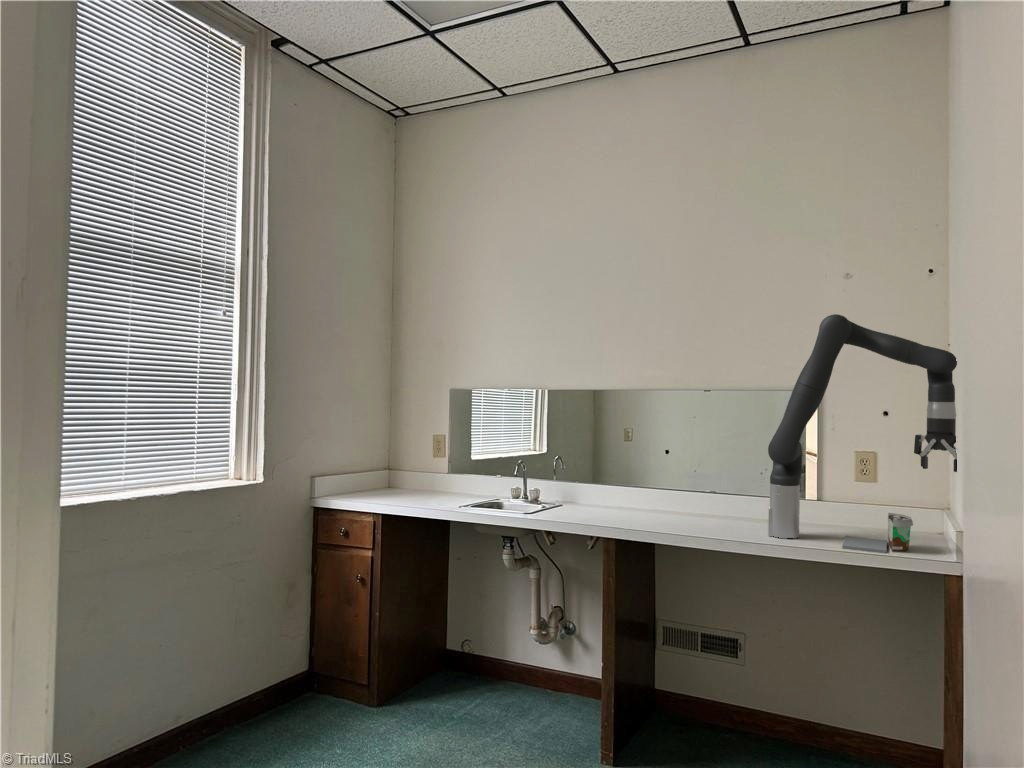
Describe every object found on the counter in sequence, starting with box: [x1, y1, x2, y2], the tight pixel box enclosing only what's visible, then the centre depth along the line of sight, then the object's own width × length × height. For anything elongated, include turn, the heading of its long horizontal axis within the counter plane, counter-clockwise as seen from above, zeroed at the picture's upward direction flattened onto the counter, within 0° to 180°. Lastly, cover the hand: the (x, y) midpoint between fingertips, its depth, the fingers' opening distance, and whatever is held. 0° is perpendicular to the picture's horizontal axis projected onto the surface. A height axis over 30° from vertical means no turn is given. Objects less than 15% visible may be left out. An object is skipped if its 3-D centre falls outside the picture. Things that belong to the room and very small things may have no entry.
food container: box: [887, 512, 914, 553], centre depth 217 cm, size 12×6×10 cm, turn 158°
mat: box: [841, 535, 888, 554], centre depth 222 cm, size 12×16×1 cm
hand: (940, 470), depth 215 cm, fingers open, 8 cm apart
